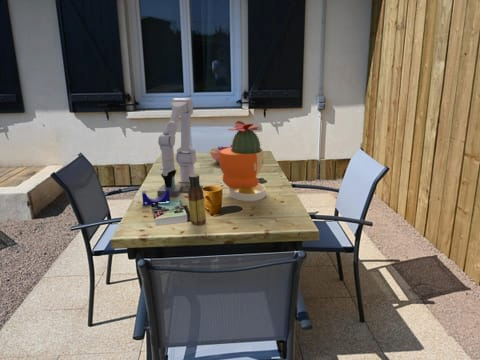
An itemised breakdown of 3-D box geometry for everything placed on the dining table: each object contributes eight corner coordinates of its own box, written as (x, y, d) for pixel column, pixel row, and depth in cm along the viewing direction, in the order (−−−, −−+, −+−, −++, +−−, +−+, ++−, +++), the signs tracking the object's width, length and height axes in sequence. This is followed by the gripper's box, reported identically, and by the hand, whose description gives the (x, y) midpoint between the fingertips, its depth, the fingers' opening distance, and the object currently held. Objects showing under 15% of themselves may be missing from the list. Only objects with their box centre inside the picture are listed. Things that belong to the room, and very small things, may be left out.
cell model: (211, 159, 268) (210, 142, 265) (242, 159, 267) (241, 142, 264) (208, 166, 252) (207, 148, 249) (241, 165, 251) (240, 147, 248)
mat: (185, 186, 212) (185, 185, 212) (202, 187, 211) (202, 185, 211) (181, 192, 203) (181, 191, 203) (199, 192, 203) (199, 191, 202)
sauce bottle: (206, 219, 168) (204, 172, 163) (205, 225, 162) (203, 177, 157) (190, 220, 168) (187, 173, 162) (189, 226, 162) (186, 177, 156)
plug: (167, 191, 206) (166, 176, 203) (175, 191, 205) (174, 176, 203) (165, 193, 202) (164, 178, 199) (173, 194, 201) (172, 178, 199)
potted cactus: (254, 185, 212) (253, 117, 202) (273, 198, 192) (273, 123, 182) (214, 191, 204) (211, 120, 195) (229, 205, 185) (227, 127, 175)
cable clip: (168, 200, 193) (168, 187, 192) (170, 203, 189) (169, 190, 187) (142, 203, 190) (141, 190, 188) (143, 206, 186) (142, 193, 184)
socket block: (163, 189, 209) (163, 184, 208) (182, 189, 208) (182, 184, 207) (157, 196, 199) (157, 191, 198) (177, 196, 198) (177, 191, 197)
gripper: (163, 155, 206) (165, 181, 210) (155, 162, 192) (157, 190, 196) (177, 155, 205) (179, 181, 209) (170, 162, 191) (172, 190, 195)
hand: (170, 186), depth 202 cm, fingers closed on plug, 4 cm apart
